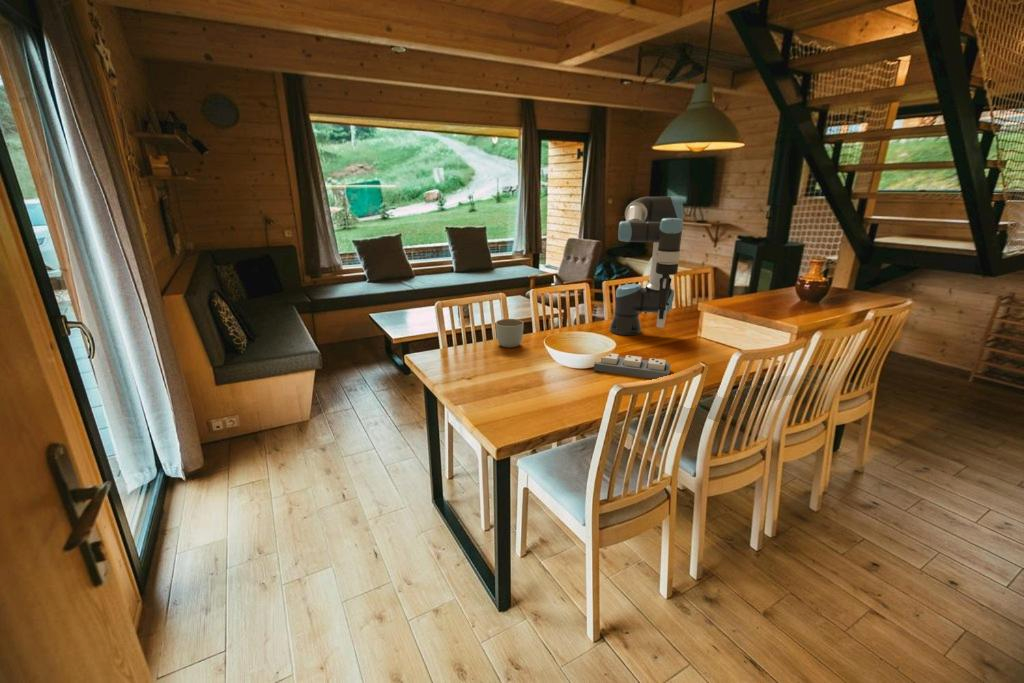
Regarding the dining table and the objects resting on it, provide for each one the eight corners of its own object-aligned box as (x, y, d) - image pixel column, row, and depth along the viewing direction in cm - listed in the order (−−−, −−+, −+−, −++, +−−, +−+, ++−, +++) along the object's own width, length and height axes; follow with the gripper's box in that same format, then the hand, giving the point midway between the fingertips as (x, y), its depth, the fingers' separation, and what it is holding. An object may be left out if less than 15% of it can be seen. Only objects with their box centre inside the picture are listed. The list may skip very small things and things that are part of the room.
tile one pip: (603, 358, 191) (603, 351, 191) (618, 360, 189) (618, 353, 189) (600, 363, 186) (601, 356, 185) (615, 365, 184) (616, 358, 183)
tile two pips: (625, 361, 188) (626, 354, 188) (641, 362, 186) (641, 356, 186) (623, 366, 183) (624, 359, 182) (639, 368, 181) (640, 361, 180)
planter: (525, 341, 219) (525, 319, 216) (520, 350, 207) (521, 327, 204) (499, 340, 221) (498, 318, 218) (493, 349, 209) (493, 325, 206)
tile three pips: (649, 363, 185) (649, 357, 185) (664, 365, 183) (665, 359, 183) (647, 369, 180) (648, 362, 179) (663, 371, 178) (664, 364, 177)
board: (599, 361, 195) (599, 354, 194) (670, 370, 186) (670, 363, 185) (593, 370, 185) (594, 363, 184) (668, 380, 176) (669, 373, 175)
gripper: (658, 258, 178) (652, 317, 186) (654, 266, 162) (647, 330, 169) (679, 259, 176) (672, 319, 183) (677, 267, 159) (669, 332, 167)
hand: (660, 324), depth 176 cm, fingers open, 6 cm apart
